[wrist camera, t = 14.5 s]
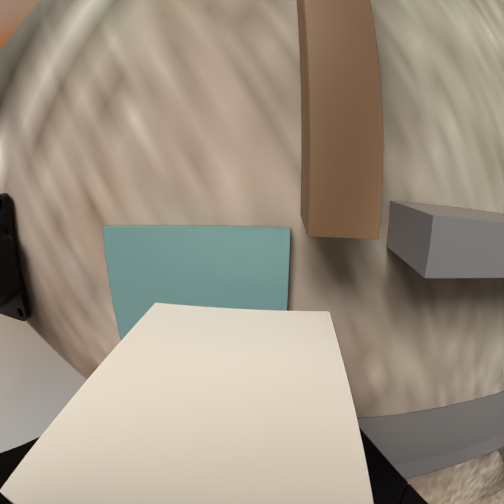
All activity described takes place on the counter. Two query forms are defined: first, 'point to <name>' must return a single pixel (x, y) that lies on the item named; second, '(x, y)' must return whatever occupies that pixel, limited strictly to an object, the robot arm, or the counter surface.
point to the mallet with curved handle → (340, 119)
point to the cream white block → (206, 417)
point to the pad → (195, 268)
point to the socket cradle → (443, 266)
